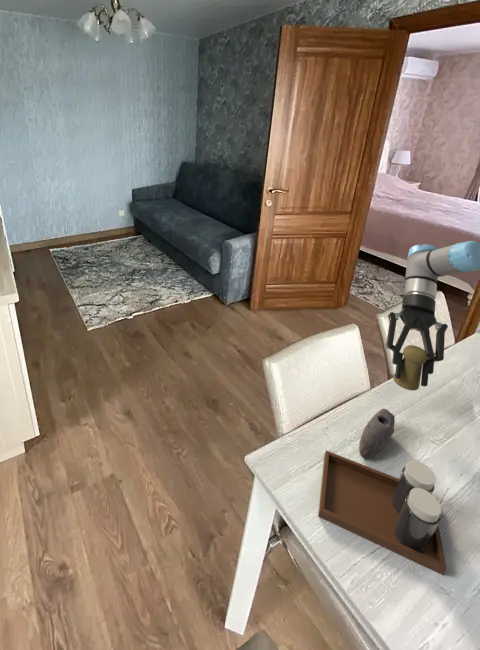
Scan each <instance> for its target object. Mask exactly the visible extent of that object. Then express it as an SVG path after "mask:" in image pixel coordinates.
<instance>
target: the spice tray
mask: <svg viewBox="0 0 480 650" xmlns="http://www.w3.org/2000/svg"><path fill="white" fill-rule="evenodd" d="M398 480H399V477H395V476H394V475H393V476H392V475H390V474H388V473H385V472H382V471H381V470H377V469H375V468H372V467H369V466H367V465H364V464H363V463H360V462H357V461H354V460H352V459H349V458H346V457H344V456H341V455H339V454H338V453H337V454H336V453H334V452H332V451H329V450H325V451H324V456H323V465H322V475H321V483H320V484H321V485H320V495H319V504H318V514H317V517H318V518H320V519H323V520H325V521H327V522H329V523H331V524H333V525H334V526H337V527H339V528H342V529H344V530H346V531H348V532H350V533H352V534H354V535H357V536H358V537H361V538H362V539H365V540H367V541H369V542H371V543H373V544H376V545H378V546H380V547H382V548H384V549H386V550H388V551H390V552H393V553H394V554H397V555H399V556H401V557H403V558H405V559H407V560H408V561H409V560H410V561H412V562H414V563H416V564H418V565H420V566H422V567H423V568H426V569H429V570H431V571H433V572H435V573H436V574H439V575H441V576H444V574H445V572H446V570H447V564H446V559H445V553H444V549H443V542H442V537H441V532H440V526H439V525H438V526H437V528H436V530H435V532H434V534H433V536H432V538H431V540H430V542H429V545H428V547H427V549H426V551H425V552H423V553H420V552H418V551H415V550H413V549H411V548H409V547H407V546H404V545H402V544H401V543H400V542H399V540H398V539H397V537H396V535H395V533H394V525H395V522H396V520H397V517H398V515H399V513H398V512H397V511H396V509H395V508H394V506H393V504H392V495H393V493H394V490H395V487H396V485H397V482H398ZM432 495H433V496H434V492H433V493H432Z"/></svg>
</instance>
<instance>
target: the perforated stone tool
mask: <svg viewBox="0 0 480 650" xmlns="http://www.w3.org/2000/svg"><path fill="white" fill-rule="evenodd" d="M395 419H396V418H395V415H394V414H393V413H392V412H390V411H389V410H388V409H387V408H381V409H380V410H378V411H377V412H376V413H375V414H374V415H373V416H372V418H370V420H369V421H368V422H367V424H366V426H365V427H364V429H363V430H362V434H361V436H360V440H359V444H358V445H359V446H358V451H359V452H358V453H359V455H360V457H361V458H365V459H366V458H370V457H373V456H375V455H376V454H378V453H379V452H380V451H381V450H382V449H383V448H384V447H385V446H386V445H387V443H388V441H389V440H390V438H391V437H392V436H393V435H394V433H395V423H396V420H395Z"/></svg>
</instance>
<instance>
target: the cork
mask: <svg viewBox="0 0 480 650" xmlns="http://www.w3.org/2000/svg"><path fill="white" fill-rule="evenodd" d="M402 353H403V360H402V369H401V378H399V379H396V378H395V374H394V375H393V376H392V377H393V378H392V379H393V381H394V383H395V384H396V385H397V386H399V387H401V388H402V389H403V390H406V391H407V390H408V391H417V390H419V389H420V386H421V378H422V367H423V363H425V362H426V360H427V354H426V352H425V349H424V348H421V347H420V346H417V345H414V344H413V345H412V344H411V345H407V346H405V347H404V349H403V350H402Z"/></svg>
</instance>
